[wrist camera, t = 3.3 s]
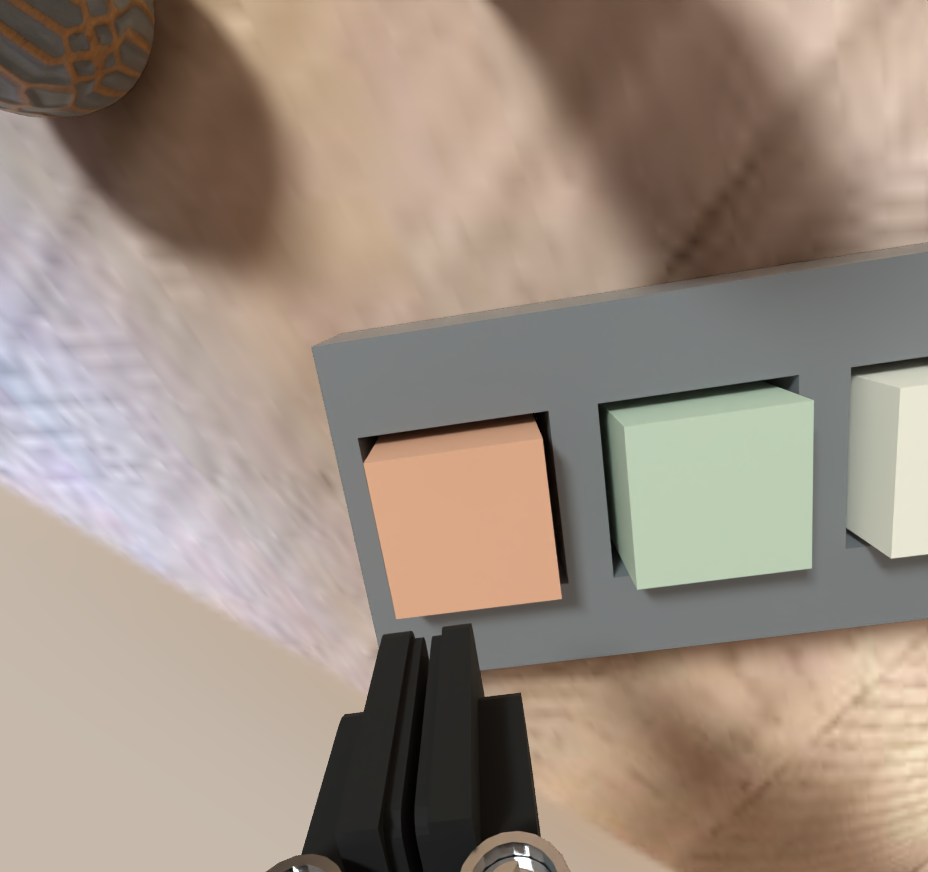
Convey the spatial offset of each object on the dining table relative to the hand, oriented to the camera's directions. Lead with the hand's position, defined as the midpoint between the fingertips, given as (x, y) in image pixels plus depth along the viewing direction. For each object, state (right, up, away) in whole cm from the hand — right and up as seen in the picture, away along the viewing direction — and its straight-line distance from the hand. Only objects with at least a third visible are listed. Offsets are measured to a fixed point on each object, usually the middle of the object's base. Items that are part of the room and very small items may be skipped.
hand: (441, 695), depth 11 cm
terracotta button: (+1, +3, +10) cm, 11 cm away
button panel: (+8, +5, +11) cm, 15 cm away
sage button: (+8, +4, +10) cm, 13 cm away
